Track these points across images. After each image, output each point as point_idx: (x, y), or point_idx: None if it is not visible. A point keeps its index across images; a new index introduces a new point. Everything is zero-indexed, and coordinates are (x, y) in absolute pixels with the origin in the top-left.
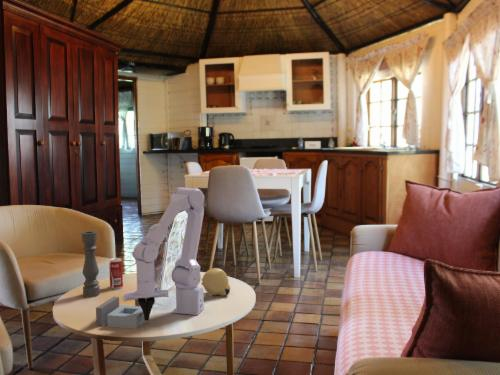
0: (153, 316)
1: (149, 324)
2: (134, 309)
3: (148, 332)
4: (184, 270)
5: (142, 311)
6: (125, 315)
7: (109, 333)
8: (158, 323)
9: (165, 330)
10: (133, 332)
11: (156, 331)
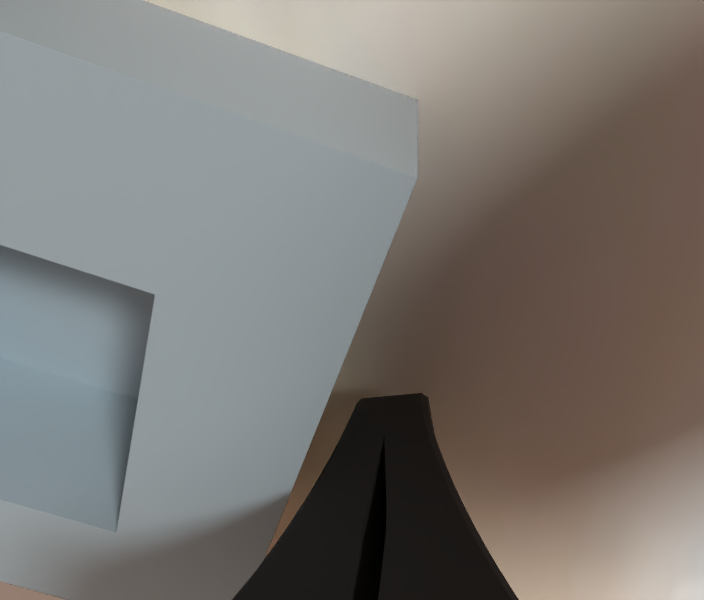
0: (531, 38)
1: (444, 408)
2: (57, 248)
3: None
4: None
5: (300, 459)
6: (28, 563)
7: None
8: (586, 397)
9: (640, 591)
10: None
11: (527, 593)
